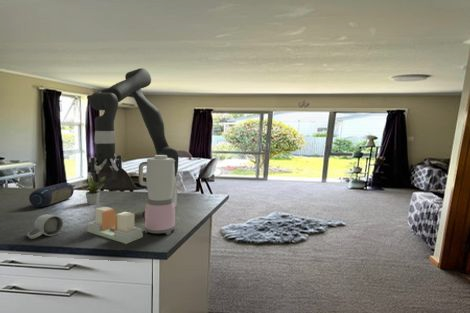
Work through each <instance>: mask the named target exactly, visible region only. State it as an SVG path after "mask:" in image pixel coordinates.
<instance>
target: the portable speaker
mask: <svg viewBox="0 0 470 313" xmlns="http://www.w3.org/2000/svg"><path fill="white" fill-rule="evenodd" d="M74 191H75V189H74V186H73V185H72V184H71V183H69V182H61V183H57V184H52V185H48V186H43V187H40V188H38V189H34V191H31V193H30V194H29V197H28V200H29V203H30V204H31V205H32V206H33V207H36V208H44V207H48V206H51V205H53V204H56V203H60V202H63V201H65V200H69V199H70V198H72V196H73V195H74Z"/></svg>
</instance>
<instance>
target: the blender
mask: <svg viewBox="0 0 470 313" xmlns="http://www.w3.org/2000/svg"><path fill="white" fill-rule="evenodd" d="M153 156H154V157H148V158H147V159H146V161H142V162H141V163H139V165H138V184H139V185H140V186H143V187H146V189H147V195H148V197H147V198H148V200H147V202H146V205H145V209H144V211H142V217H143V218H144V224H145V225H144V231H145V234H148V233H150V234H151V233H152V234H165V235H166V236H169V235H171V234H172V231H174V230H175V229H176V207H175V206H174V203H173V201H172V194H173V188H174V180H175V166H174V162H175V160H174V159H173V158H167V155H157V154H155V155H153ZM144 167H146V177H145V178H146V181H144Z"/></svg>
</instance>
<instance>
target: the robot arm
mask: <svg viewBox="0 0 470 313" xmlns="http://www.w3.org/2000/svg"><path fill="white" fill-rule="evenodd" d="M124 78H125V79H124V80H122V81H119V82H117V83H115V84H113V85H111V86H110V87H108V88H104V89H101V90H97V91H95V92H93V93H92V94H91V95H90V97H89V99H88V101H89V102H88V103H89V105H90V107H91V108H92V109H94V110H95V111H104V112H103V114H102V115H99V116H96V117H95V119H94V154H95V157H88V158H87V173H89V174H92V177H93V182H94V183H96V184H97V183H98V184H99V183H100V181H99V179H100V174H99V173H100V171H101V170H102V169H103V168H108V167H109V168H110V169H111V177H112V178H111V179H112V180H113V181H116V180H118V178H119V177H118V175H119V174H118V173H119V170H121V169H123V166H122V165H123V164H122V163H123V162H122V155H120V154H119V155H117V154H115V153H116V135H115V119H116V116H117V115H116V114H117V111H118V108H119V103H121V101H124V99H126V98H128V97H129V96H131V95H132V97H133V99H134V101H135V103H136V105H137V107H138V110H139V113H140V114H141V117H142V120H143V123H144V125H145V127H146V130H147V132H148V134H149V137H150V139H151V141H152V143H153V146H154V149H155V153H156V154H155V155H167V158H173V159H174V160H175V162H174V166H175V180H174V188H173V194H172V201H173V203H174V206H175V208H177V207H178V188H177V173H178V171H179V170H178V169H179V153H178V150H177V149H175V148H173V147H171V146H170V145H169V144H168V142H167V138H166V136H165V123H164V119H163V118H162V115H161V112H160V110H159V109H158V108H157V107H156V106H155V105H154V104H153V103H152V102H150V101H149V100H148V99H147V98H146V96H145V94H144V93H143V91H142V89H144V88H147V87H148V86H150V85H151V83H152V77H151V74H150V73H149V71H148V70H147V69H145V68H142V67H141V68H137V69H134V70H129V71H128V72H126V73H125V76H124Z"/></svg>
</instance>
